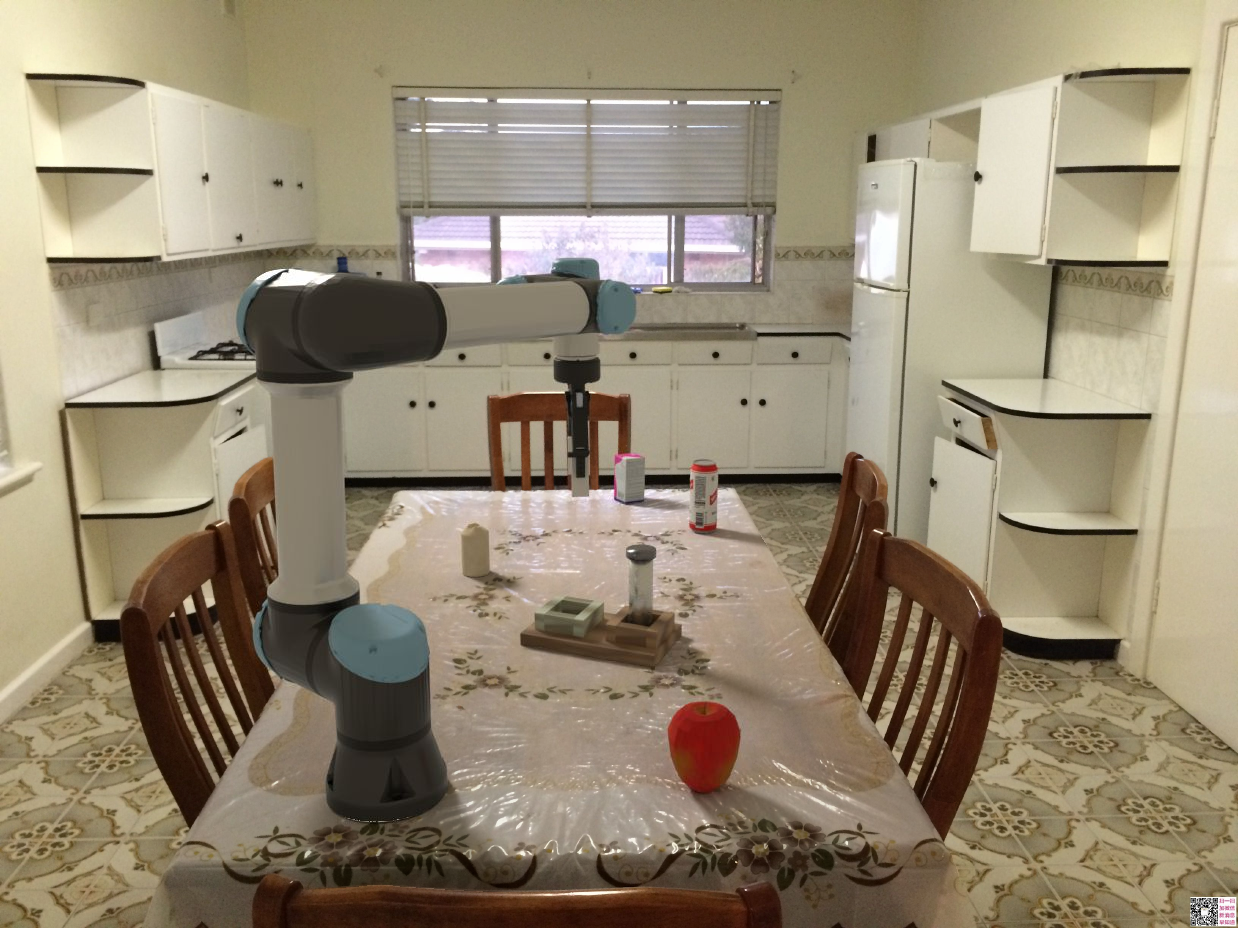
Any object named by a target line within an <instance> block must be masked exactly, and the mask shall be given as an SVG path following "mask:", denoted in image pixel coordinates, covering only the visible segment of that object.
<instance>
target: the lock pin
mask: <svg viewBox="0 0 1238 928" xmlns="http://www.w3.org/2000/svg"><path fill="white" fill-rule="evenodd" d="M625 557H626V559H628V606H629V623H630V624H636V625H642V626H649V627H650V626H651V625H652V615H653V610H654V609H653V604H654V602H653V601H654V599H653V598H654V597H653V596H654V594H653V593H654V591H653V590H654V560H655V559H656V558H657V548H656V547H655V546H654V545H651V544H643V543H641V544H633V545H629V546H627V547H626V548H625Z"/></svg>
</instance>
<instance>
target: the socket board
mask: <svg viewBox="0 0 1238 928" xmlns="http://www.w3.org/2000/svg"><path fill="white" fill-rule="evenodd" d="M675 614H676V613H675V612H670V611H665V610H657V609H653V615H652V625H651V626H650V627H649V626H642V625H636V624H630V623H629V605H624V606H623V607H622V608H621V609H620V610H618V612H617V613H610V612H606V611H605V602H604V601H600V600H599V601H598V600H592V599H586V598H580V597H573V596H569V595H568V596H567V595H559V594H556V595H555V596H554V597H553V598H551V599H550V600H549V601H547V602H546V603H545V604H544V605H543V606H541V607H540V608H539V609H537V610H536V611H535V612H534V621H533V622H532V623H531V624H530V625H529V626H528V627H526V628H525V629H523V630H522V631H521V632H520V634H519V636H520V637H519V639H520V640H519V641H520V645H523V646H529V647H534V648H540V649H545V650H552V651H557V652H561V653H566V654H567V653H568V654H573V655H580V656H584V657H585V656H586V657H592V658H598V659H602V660H610V661H614V662H620V663H625V664H631V665H636V666H637V665H638V666H644V667H648V668H655V667H656V666H657V665H658V663H659V662H660V661H661V660H662V659H663V657H664V656H665V655H666V654H667V653H668V652H669V651H670V649H672V647H673V646H674V645H675V644H676V642H677V641H678V640H679V639H680V637H682V636H683V627H682V626H683V624H681V623H676V622H675V617H676V615H675Z"/></svg>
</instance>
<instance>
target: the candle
mask: <svg viewBox="0 0 1238 928" xmlns="http://www.w3.org/2000/svg"><path fill="white" fill-rule="evenodd" d="M460 545H461V547H460V548H461V572H462V574H463V576H465V577H470V578H480V577H483V576H487V575H489V574H490V573H491V572H490V570H491V568H490V567H491V562H490V561H491V560H490V559H491V558H490V532H489V530H488V529H487V528H486V527H484V526H482V525H481V524H480V523H476V522H473V523H469V524H468V525H466V526H465V528H463V529H462V530H461V532H460Z"/></svg>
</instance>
